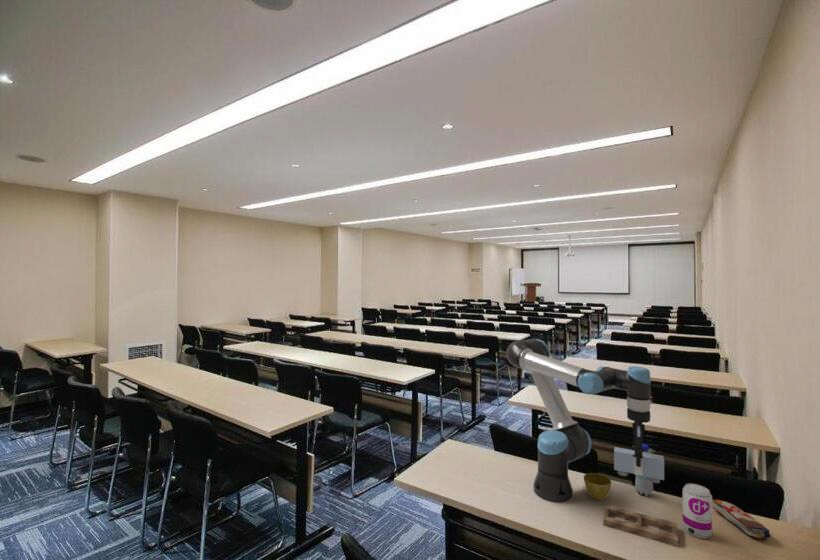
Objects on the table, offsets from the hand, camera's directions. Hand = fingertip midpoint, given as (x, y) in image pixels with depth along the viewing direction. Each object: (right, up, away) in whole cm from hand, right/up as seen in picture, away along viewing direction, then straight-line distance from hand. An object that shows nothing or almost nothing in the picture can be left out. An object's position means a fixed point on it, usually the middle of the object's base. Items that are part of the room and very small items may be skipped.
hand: (638, 471), depth 148 cm
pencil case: (+32, -16, -7) cm, 37 cm away
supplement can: (+14, -16, -11) cm, 24 cm away
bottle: (+11, -16, +14) cm, 24 cm away
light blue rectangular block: (0, -2, 0) cm, 2 cm away
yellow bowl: (-10, -16, +11) cm, 22 cm away
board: (-4, -15, -8) cm, 18 cm away
